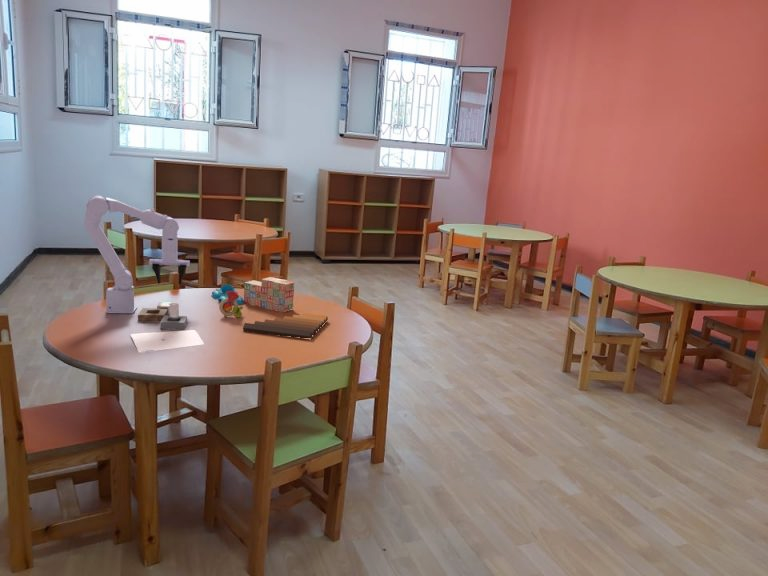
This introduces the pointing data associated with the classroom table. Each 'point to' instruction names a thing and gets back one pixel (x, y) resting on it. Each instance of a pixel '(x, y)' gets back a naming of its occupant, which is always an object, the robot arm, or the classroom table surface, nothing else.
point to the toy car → (222, 294)
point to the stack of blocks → (270, 294)
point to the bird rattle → (227, 307)
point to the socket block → (152, 314)
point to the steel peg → (174, 312)
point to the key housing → (164, 305)
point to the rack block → (173, 323)
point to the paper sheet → (166, 340)
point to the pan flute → (289, 325)
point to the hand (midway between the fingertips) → (169, 283)
